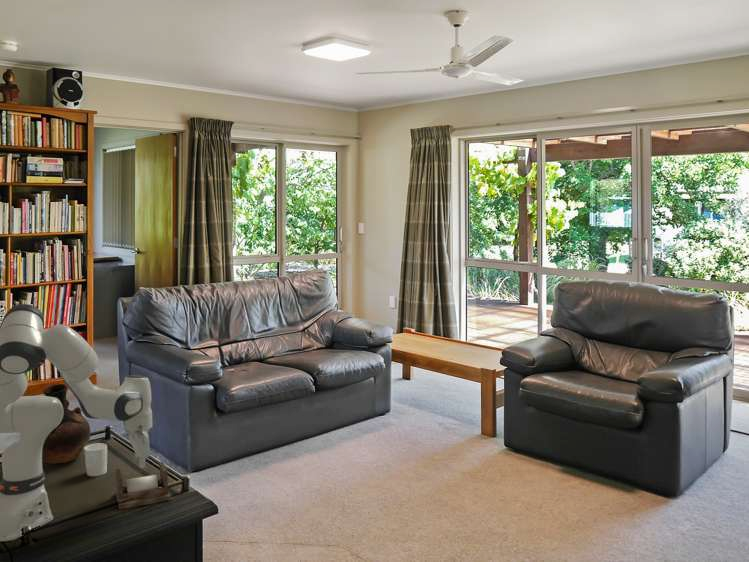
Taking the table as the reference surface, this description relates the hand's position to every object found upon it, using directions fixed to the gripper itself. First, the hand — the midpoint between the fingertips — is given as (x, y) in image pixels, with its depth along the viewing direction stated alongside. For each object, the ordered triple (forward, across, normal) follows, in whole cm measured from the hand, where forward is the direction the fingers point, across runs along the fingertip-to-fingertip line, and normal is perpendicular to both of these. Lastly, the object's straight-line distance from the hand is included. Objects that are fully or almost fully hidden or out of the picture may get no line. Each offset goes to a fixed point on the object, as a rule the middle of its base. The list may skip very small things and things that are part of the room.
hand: (140, 462), depth 230 cm
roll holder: (+12, -1, 0) cm, 12 cm away
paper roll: (+10, -1, 0) cm, 10 cm away
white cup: (+12, +30, +11) cm, 34 cm away
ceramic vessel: (+12, +48, +22) cm, 54 cm away
